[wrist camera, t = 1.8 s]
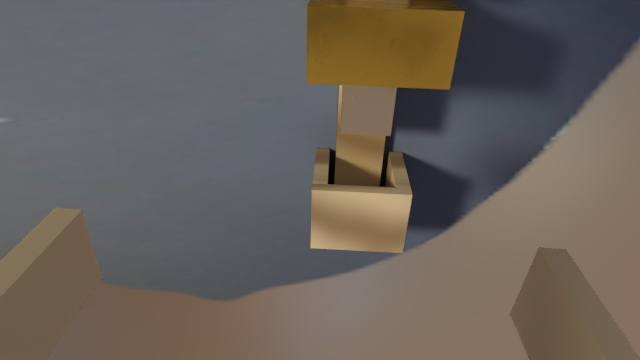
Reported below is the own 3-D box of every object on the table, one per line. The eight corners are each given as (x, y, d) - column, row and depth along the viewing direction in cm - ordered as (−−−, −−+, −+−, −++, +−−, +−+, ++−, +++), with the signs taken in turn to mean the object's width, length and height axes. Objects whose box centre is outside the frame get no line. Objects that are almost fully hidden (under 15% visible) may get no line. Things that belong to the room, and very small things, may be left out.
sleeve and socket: (328, -270, 20) (322, -335, 15) (463, -267, 20) (504, -332, 15) (315, 200, 35) (310, 248, 30) (393, 205, 35) (402, 252, 30)
